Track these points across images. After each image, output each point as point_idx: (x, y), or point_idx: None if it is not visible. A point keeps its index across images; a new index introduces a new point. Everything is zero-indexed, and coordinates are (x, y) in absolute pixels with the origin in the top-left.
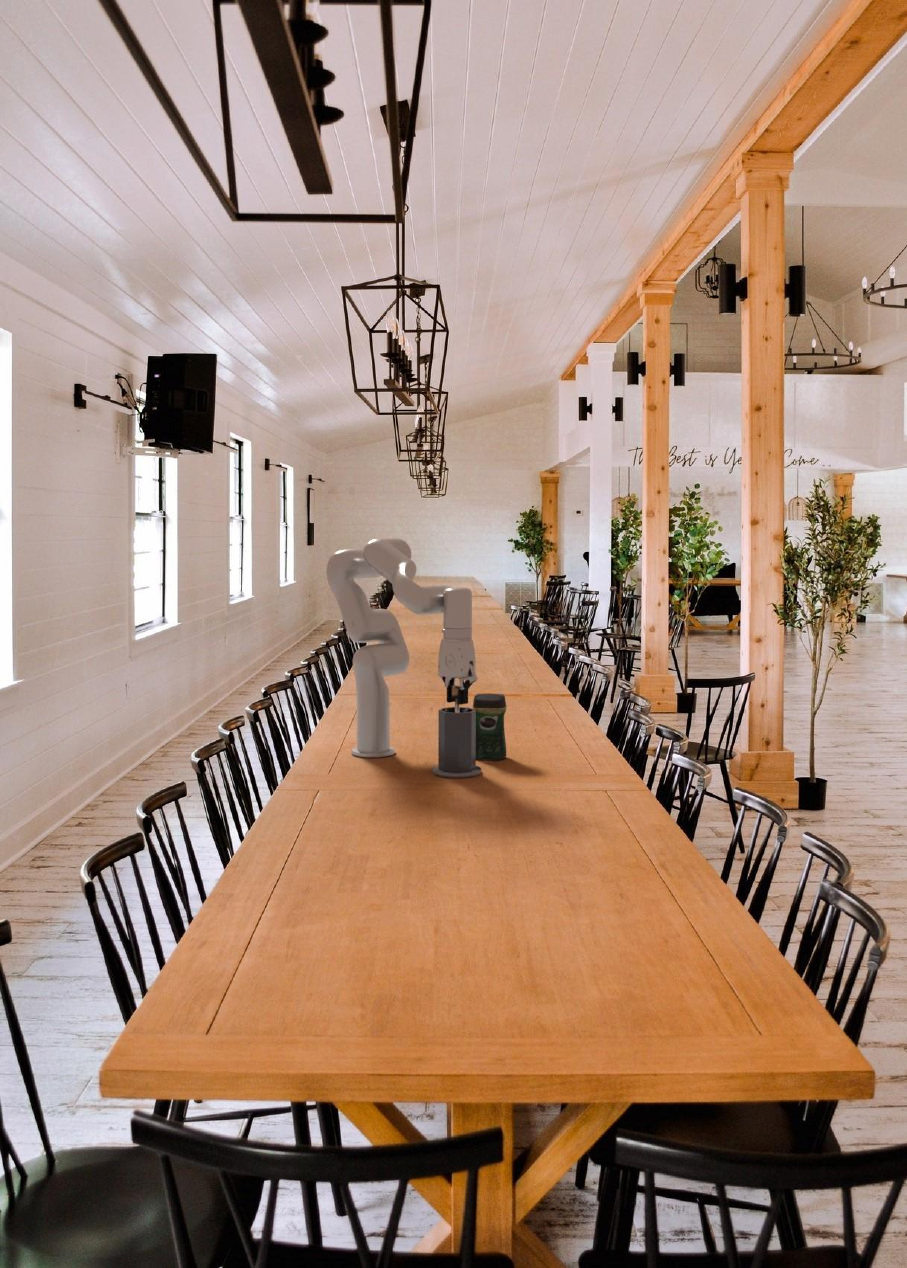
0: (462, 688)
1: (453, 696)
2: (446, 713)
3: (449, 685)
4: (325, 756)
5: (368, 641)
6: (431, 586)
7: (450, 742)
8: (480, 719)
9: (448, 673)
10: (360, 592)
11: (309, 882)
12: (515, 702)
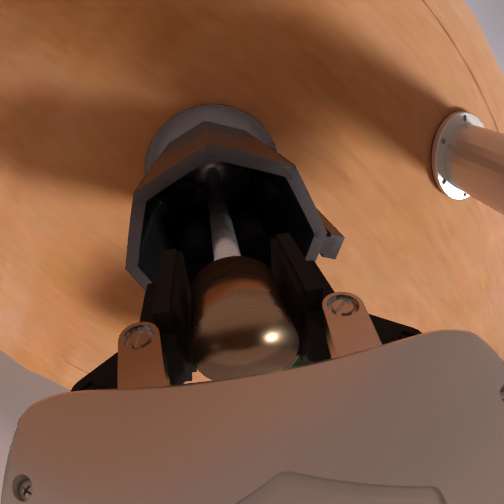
0: (134, 335)
1: (226, 263)
2: (197, 149)
3: (319, 322)
4: (488, 79)
5: None
6: None
7: (184, 141)
8: (298, 355)
9: (307, 401)
10: None
11: None
12: None
